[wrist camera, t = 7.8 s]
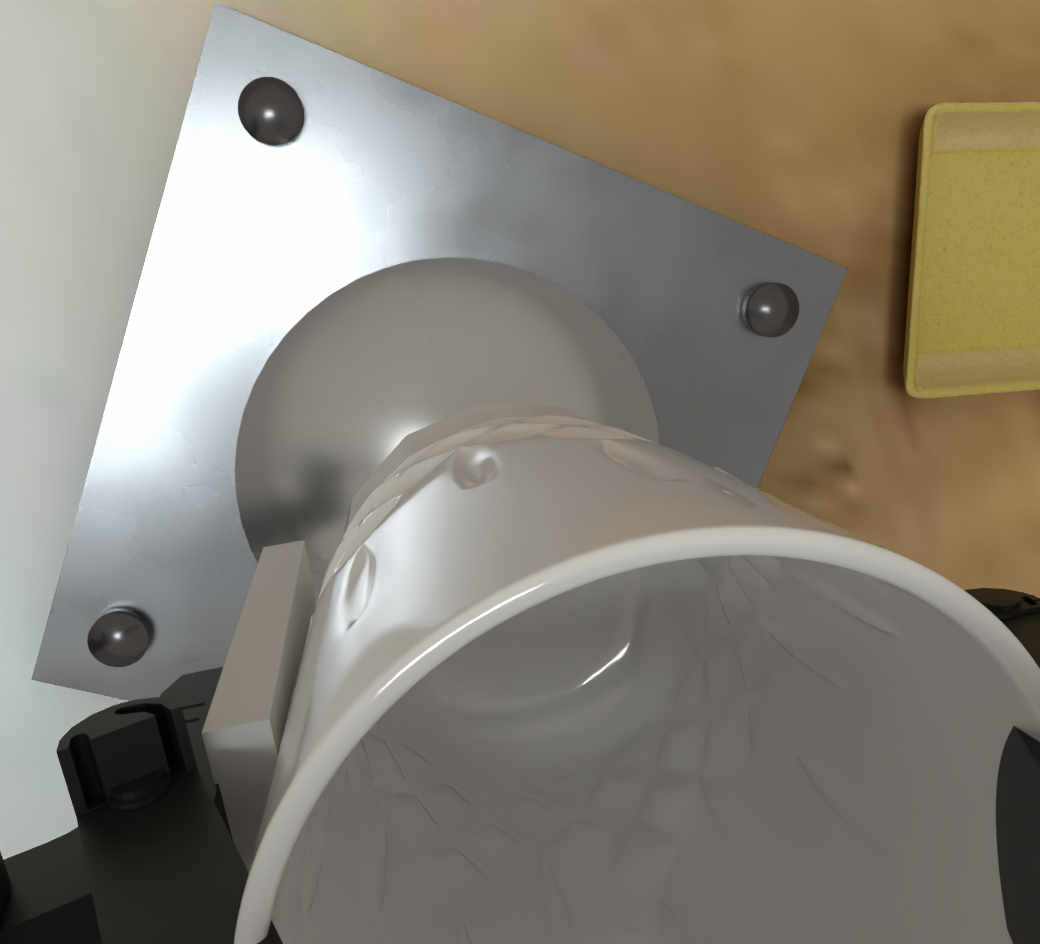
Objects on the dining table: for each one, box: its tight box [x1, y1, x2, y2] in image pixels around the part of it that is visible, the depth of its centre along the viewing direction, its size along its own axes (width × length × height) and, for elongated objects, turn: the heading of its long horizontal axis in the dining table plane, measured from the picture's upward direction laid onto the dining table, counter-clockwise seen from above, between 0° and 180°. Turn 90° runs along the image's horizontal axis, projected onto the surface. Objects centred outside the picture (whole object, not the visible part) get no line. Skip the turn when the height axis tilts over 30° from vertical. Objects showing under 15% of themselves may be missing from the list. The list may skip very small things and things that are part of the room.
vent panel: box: [32, 3, 848, 701], centre depth 25 cm, size 19×19×2 cm
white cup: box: [234, 403, 1040, 944], centre depth 12 cm, size 8×8×10 cm
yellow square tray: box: [903, 102, 1040, 398], centre depth 27 cm, size 9×9×2 cm
